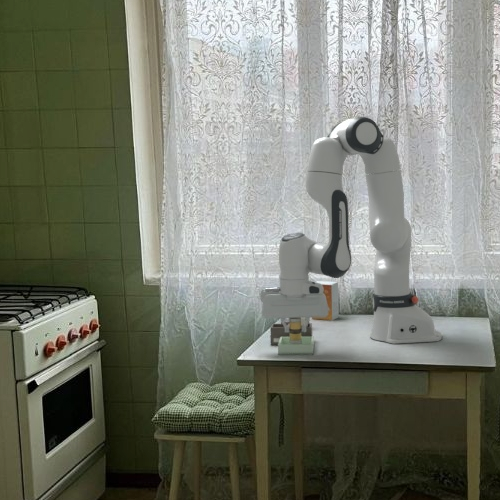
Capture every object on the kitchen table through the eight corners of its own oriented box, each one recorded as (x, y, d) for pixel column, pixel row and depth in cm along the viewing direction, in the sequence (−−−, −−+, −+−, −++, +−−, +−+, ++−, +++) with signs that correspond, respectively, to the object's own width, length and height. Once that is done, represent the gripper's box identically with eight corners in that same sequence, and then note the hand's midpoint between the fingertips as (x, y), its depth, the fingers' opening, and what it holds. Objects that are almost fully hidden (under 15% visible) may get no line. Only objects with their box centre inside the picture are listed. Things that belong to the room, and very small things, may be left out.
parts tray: (314, 345, 259) (313, 336, 259) (312, 354, 249) (312, 344, 248) (280, 346, 260) (280, 336, 260) (278, 354, 250) (277, 344, 250)
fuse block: (312, 340, 267) (312, 323, 266) (311, 344, 261) (311, 327, 260) (272, 340, 268) (271, 323, 268) (270, 344, 262) (270, 327, 262)
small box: (311, 319, 298) (310, 283, 296) (318, 315, 304) (317, 280, 302) (332, 320, 294) (331, 284, 293) (339, 317, 300) (338, 281, 298)
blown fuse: (302, 344, 253) (301, 318, 252) (289, 344, 253) (289, 318, 252) (301, 341, 256) (301, 316, 255) (289, 341, 256) (288, 316, 255)
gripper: (259, 289, 249) (261, 334, 251) (328, 288, 249) (329, 333, 250) (260, 286, 256) (261, 330, 257) (327, 284, 255) (327, 328, 257)
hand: (295, 331), depth 254 cm, fingers closed on blown fuse, 4 cm apart
